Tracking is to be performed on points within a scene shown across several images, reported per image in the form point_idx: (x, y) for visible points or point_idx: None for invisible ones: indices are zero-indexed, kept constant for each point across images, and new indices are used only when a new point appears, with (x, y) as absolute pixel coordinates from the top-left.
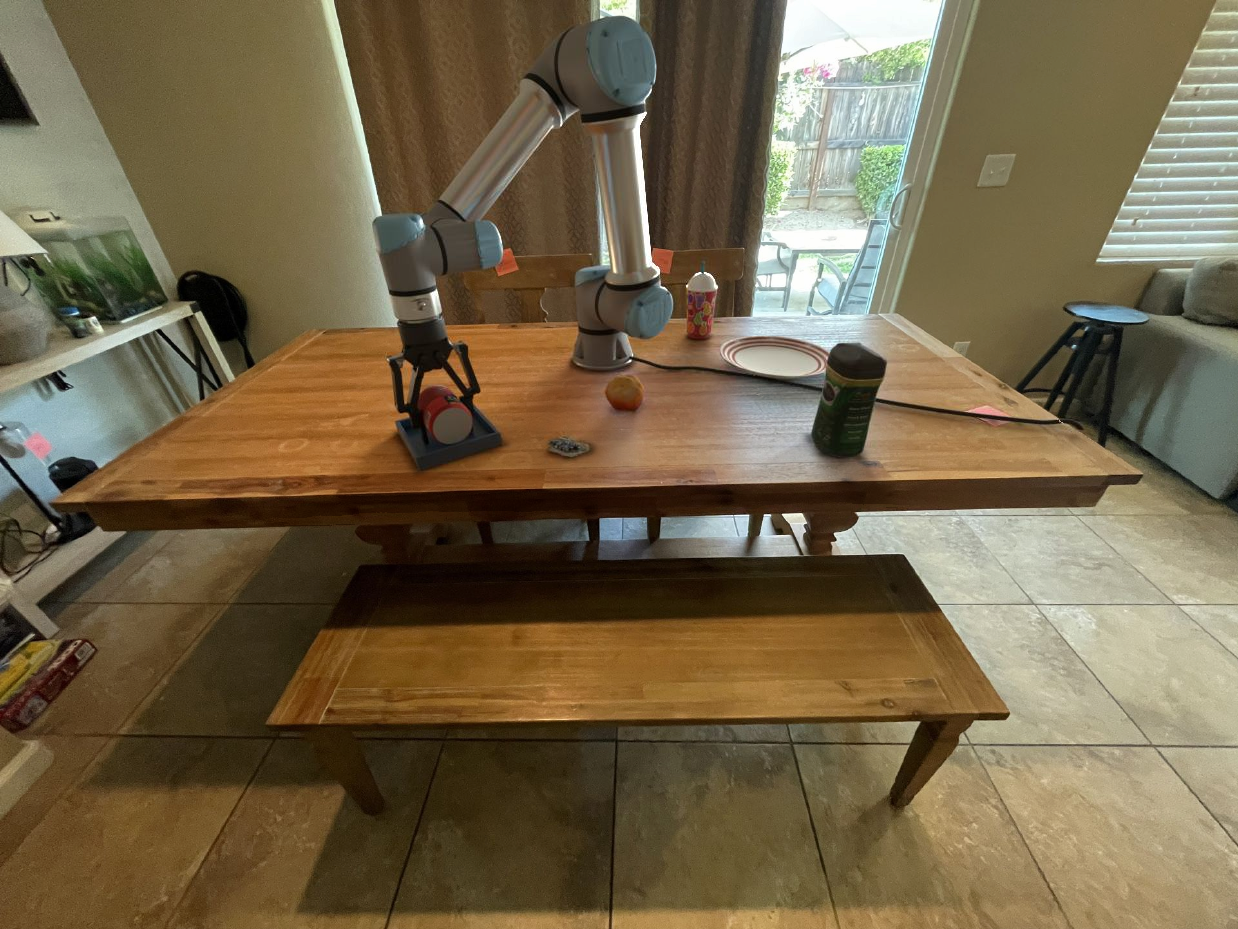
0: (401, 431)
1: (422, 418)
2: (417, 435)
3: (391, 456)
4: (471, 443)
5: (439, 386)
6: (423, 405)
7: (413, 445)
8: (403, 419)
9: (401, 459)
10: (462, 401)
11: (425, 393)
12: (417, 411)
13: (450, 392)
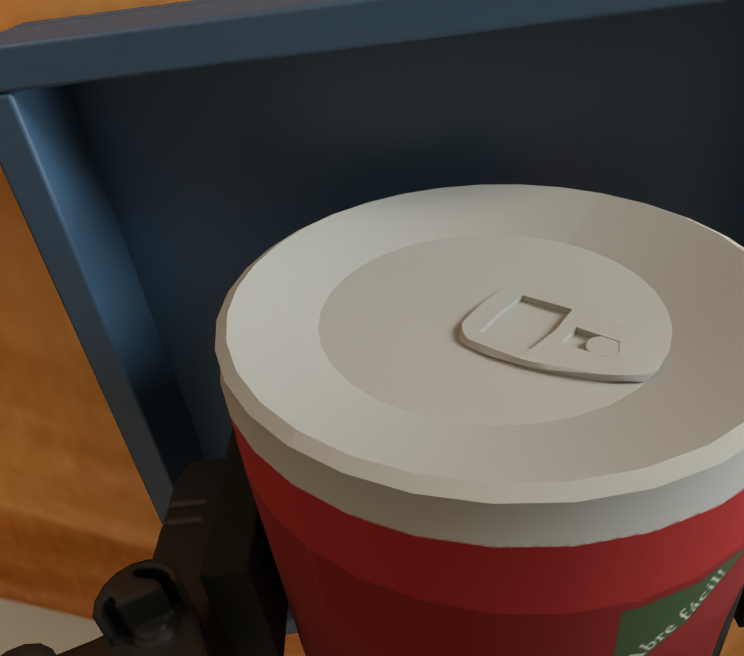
0: (78, 325)
1: (284, 604)
2: (219, 222)
3: (41, 382)
4: None
5: (673, 555)
6: (319, 648)
7: (189, 359)
8: (57, 63)
9: (116, 437)
10: (740, 597)
11: (391, 607)
12: (244, 641)
13: (718, 634)
